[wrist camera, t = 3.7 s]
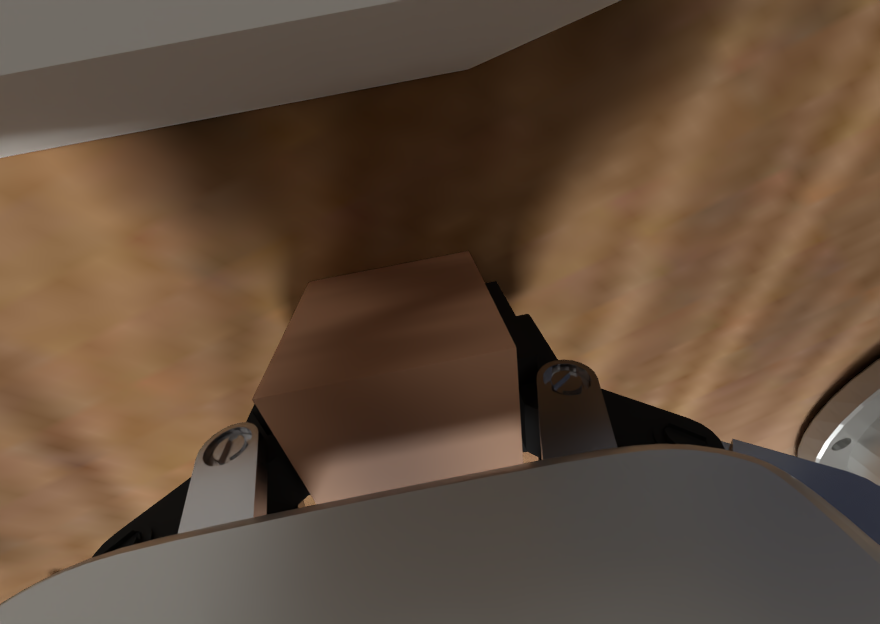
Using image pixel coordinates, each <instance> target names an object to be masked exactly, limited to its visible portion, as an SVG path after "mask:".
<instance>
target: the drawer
mask: <svg viewBox="0 0 880 624" xmlns="http://www.w3.org/2000/svg"><path fill="white" fill-rule="evenodd" d="M619 1H621V0H0V158H2V157H8V156H13V155H18V154H23V153H29V152H34V151H39V150H45V149H50V148H55V147H61V146H66V145H71V144H76V143H82V142H87V141H92V140H98V139H103V138H108V137H113V136H119V135H124V134H129V133H135V132H140V131H145V130H150V129H156V128H161V127H166V126H172V125H177V124H182V123H187V122H193V121H198V120H203V119H209V118H214V117H219V116H224V115H230V114H235V113H240V112H246V111H251V110H256V109H262V108H267V107H272V106H277V105H283V104H288V103H293V102H299V101H304V100H309V99H314V98H320V97H325V96H330V95H336V94H341V93H346V92H351V91H357V90H362V89H367V88H373V87H378V86H383V85H388V84H394V83H399V82H404V81H410V80H415V79H420V78H426V77H431V76H436V75H441V74H447V73H452V72H457V71H463V70H468V69H470V68H472V67H475V66H477V65H479V64H481V63H484V62H486V61H488V60H490V59H492V58H495V57H497V56H499V55H501V54H503V53H506V52H508V51H510V50H512V49H515V48H517V47H519V46H521V45H523V44H526V43H528V42H530V41H532V40H535V39H537V38H539V37H541V36H543V35H546V34H548V33H550V32H552V31H554V30H557V29H559V28H561V27H563V26H566V25H568V24H570V23H572V22H574V21H577V20H579V19H581V18H583V17H585V16H588V15H590V14H592V13H594V12H597V11H599V10H601V9H603V8H605V7H608V6H610V5H612V4H614V3H616V2H619Z"/></svg>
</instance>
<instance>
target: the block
mask: <svg viewBox="0 0 880 624" xmlns="http://www.w3.org/2000/svg"><path fill="white" fill-rule="evenodd" d="M252 400H253V402H254V403H255V405H256V407H257V408H258V410H259V411H260V413H261V415H262V416H263V418H264V420H265V421H266V423H267V424H268V426H269V428H270V429H271V431H272V433H273V434H274V436H275V437H276V439H277V441H278V442H279V444H280V446H281V447H282V449H283V450H284V452H285V454H286V455H287V457H288V459H289V460H290V462H291V463H292V465H293V467H294V468H295V470H296V472H297V473H298V475H299V476H300V478H301V480H302V481H303V483H304V485H305V486H306V488H307V489H308V491H309V493H310V494H311V496H312V498H313V499H314V501H315V502H316V504H321V503H326V502H331V501H336V500H341V499H346V498H351V497H356V496H361V495H366V494H371V493H376V492H381V491H386V490H391V489H396V488H401V487H406V486H411V485H416V484H421V483H426V482H431V481H436V480H441V479H447V478H452V477H457V476H462V475H467V474H472V473H477V472H483V471H488V470H493V469H498V468H503V467H508V466H514V465H519V464H523V451H522V435H521V418H520V401H519V385H518V368H517V351H516V346H515V344H514V342H513V340H512V338H511V336H510V334H509V332H508V330H507V328H506V325H505V323H504V321H503V319H502V317H501V315H500V313H499V311H498V309H497V307H496V305H495V303H494V301H493V299H492V297H491V295H490V293H489V291H488V289H487V287H486V285H485V283H484V281H483V279H482V277H481V275H480V273H479V271H478V269H477V267H476V265H475V263H474V260H473V258H472V256H471V254H470V252H469V251H465V252H460V253H455V254H450V255H445V256H440V257H435V258H429V259H424V260H419V261H414V262H409V263H404V264H399V265H393V266H388V267H383V268H378V269H373V270H368V271H363V272H357V273H352V274H347V275H342V276H337V277H332V278H327V279H321V280H316V281H311V282H309V283H308V285H307V287H306V289H305V291H304V293H303V295H302V297H301V299H300V301H299V303H298V305H297V308H296V310H295V312H294V314H293V316H292V318H291V320H290V322H289V324H288V326H287V328H286V330H285V332H284V335H283V337H282V339H281V341H280V343H279V345H278V347H277V349H276V351H275V353H274V355H273V357H272V359H271V361H270V364H269V366H268V368H267V370H266V372H265V374H264V376H263V378H262V380H261V382H260V384H259V386H258V388H257V391H256V393H255V395H254V397H253V399H252Z"/></svg>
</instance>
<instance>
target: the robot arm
mask: <svg viewBox="0 0 880 624" xmlns="http://www.w3.org/2000/svg"><path fill="white" fill-rule="evenodd" d="M485 285H486V287H487V289H488V291H489V293H490V295H491V297H492V299H493V301H494V303H495V305H496V307H497V309H498V311H499V313H500V315H501V317H502V319H503V321H504V323H505V325H506V328H507V330H508V332H509V334H510V336H511V338H512V340H513V342H514V344H515V346H516V351H517V368H518V385H519V401H520V418H521V435H522V451H523V452H529V453H531V454H533V455H535V456H537V457H538V461H534V462H529V463H524V464H519V465H514V466H508V467H503V468H498V469H493V470H488V471H483V472H477V473H472V474H467V475H462V476H457V477H452V478H447V479H441V480H436V481H431V482H426V483H421V484H416V485H411V486H406V487H401V488H396V489H391V490H386V491H381V492H376V493H371V494H366V495H361V496H356V497H351V498H346V499H341V500H336V501H331V502H326V503H321V504H317V505H312V506H307V507H305V504H304V499H305V498H306V497H307V496H308V495H311V494H310V493H309V491H308V489H307V488H306V486H305V485H304V483H303V481H302V480H301V478H300V476H299V475H298V473H297V472H296V470H295V468H294V467H293V465H292V463H291V462H290V460H289V459H288V457H287V455H286V454H285V452H284V450H283V449H282V447H281V446H280V444H279V442H278V441H277V439H276V437H275V436H274V434H273V433H272V431H271V429H270V428H269V426H268V424H267V423H266V421H265V420H264V418H263V416H262V415H261V413H260V411H259V410H258V408H257V407H256V405H255V404H254V406H253V409H252V411H251V413H250V415H249V417H248V419H247V421H246V422H242V423H237V424H233V425H230V426H228V427H226V428H224V429H222V430H220V431H219V432H217V433H216V434H215V435H213V436H212V437H211V438H210V439H209V440H208V441H207V442H205V444H204V445H203V446H202V448H201V449H200V450H199V452H198V455H197V457H196V460H195V464H194V468H193V473H192V477H191V478H189V479H188V480H187V481H185V482H184V483H183V484H181V485H180V486H179V487H177V488H176V489H175V490H173V491H172V492H171V493H169V494H168V495H166V496H165V497H164V498H162V499H161V500H160V501H158V502H157V503H156V504H154V505H153V506H152V507H150V508H149V509H148V510H146V511H145V512H144V513H142V514H141V515H140V516H138V517H137V518H136V519H134V520H133V521H132V522H130V523H129V524H128V525H126V526H125V527H124V528H122V529H121V530H120V531H118V532H117V533H116V534H114V535H113V536H112V537H111V538H110V539H108V540H107V541H106V542H105V543H104V544H103V545H102V546H101V547H100V548H99V549H98V551H97V552H96V553H95V554H94V555H93V557H92V558H90V559H87V560H85V561H83V562H80V563H78V564H75V565H73V566H70V567H68V568H66V569H63V570H61V571H58V572H57V573H55V574H53V575H51V576H49V577H47V578H45V579H43V580H41V581H39V582H37V583H35V584H33V585H32V586H30V587H28V588H26V589H24V590H22V591H21V592H19V593H17V594H16V595H14V596H12V597H11V598H9V599H7V600H6V601H4V602H3V603H1V604H0V624H880V358H879V359H878V360H876V361H875V362H873V363H872V364H871V365H869V366H868V367H867V368H866V369H864V370H863V371H862V372H860V373H859V374H858V375H856V376H855V377H854V378H853V379H851V380H850V381H849V382H848V383H847V384H846V385H845V386H844V387H842V388H841V389H840V390H839V391H838V392H837V393H836V394H835V395H834V396H833V397H832V398H831V399H830V400H829V401H828V402H827V403H826V404H825V405H824V407H823V408H822V409H821V410H820V411H819V412H818V414H817V415H816V416H815V417H814V418H813V420H812V421H811V423H810V425H809V426H808V428H807V429H806V431H805V433H804V434H803V437H802V439H801V442H800V445H799V447H798V457H795V456H792V455H788V454H785V453H781V452H777V451H774V450H770V449H767V448H763V447H760V446H756V445H753V444H749V443H746V442H742V441H738V440H735V439H732V442H731V444H729V443H726V442H722V441H720V439H719V438H718V437H717V436H716V435H715V434H714V433H713V432H712V431H711V430H710V429H708V428H707V427H705V426H704V425H702V424H700V423H698V422H696V421H694V420H691V419H689V418H686V417H683V416H680V415H677V414H674V413H671V412H668V411H665V410H662V409H660V408H657V407H654V406H651V405H648V404H645V403H642V402H639V401H636V400H633V399H630V398H627V397H624V396H621V395H618V394H615V393H612V392H610V391H607V390H604V389H601V387H600V384H599V380H598V378H597V376H596V374H595V372H594V371H593V370H592V369H591V368H589V367H588V366H586V365H584V364H582V363H580V362H576V361H573V360H558V359H557V358H556V356H555V355H554V353H553V351H552V350H551V348H550V347H549V345H548V343H547V342H546V340H545V339H544V337H543V335H542V334H541V332H540V331H539V329H538V328H537V326H536V324H535V323H534V321H533V320H532V318H531V317H530V315H529V314H525V315H520V316H515V314H514V312H513V310H512V308H511V307H510V305H509V303H508V301H507V299H506V298H505V296H504V294H503V292H502V291H501V289H500V287H499V285H498V283H497V282H496V281H494V282H489V283H485Z"/></svg>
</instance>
